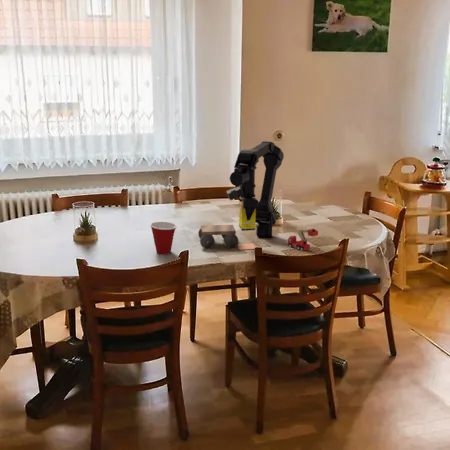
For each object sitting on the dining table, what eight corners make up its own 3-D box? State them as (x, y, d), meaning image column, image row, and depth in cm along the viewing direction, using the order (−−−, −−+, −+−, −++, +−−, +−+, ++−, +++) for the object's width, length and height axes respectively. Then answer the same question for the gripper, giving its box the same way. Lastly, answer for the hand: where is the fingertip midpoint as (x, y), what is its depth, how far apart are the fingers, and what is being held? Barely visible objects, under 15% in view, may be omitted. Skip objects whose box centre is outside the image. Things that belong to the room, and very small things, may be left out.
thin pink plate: (253, 244, 234) (253, 243, 234) (255, 249, 227) (255, 248, 227) (237, 244, 233) (237, 244, 233) (239, 249, 226) (239, 249, 226)
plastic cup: (179, 255, 219) (179, 226, 216) (153, 257, 216) (152, 228, 213) (174, 247, 229) (174, 219, 226) (149, 249, 226) (148, 221, 223)
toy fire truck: (291, 244, 234) (292, 222, 231) (317, 252, 225) (318, 229, 222) (286, 246, 232) (287, 224, 229) (312, 253, 222) (313, 231, 220)
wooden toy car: (234, 238, 241) (234, 223, 239) (238, 247, 229) (238, 232, 227) (198, 239, 239) (198, 224, 237) (200, 249, 227) (200, 233, 225)
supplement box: (238, 226, 230) (239, 201, 227) (252, 226, 231) (253, 201, 228) (241, 231, 225) (241, 205, 221) (255, 230, 225) (256, 204, 222)
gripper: (225, 177, 230) (225, 212, 235) (230, 186, 212) (230, 225, 217) (251, 176, 231) (250, 212, 236) (259, 186, 214) (258, 224, 218)
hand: (247, 218), depth 227 cm, fingers closed on supplement box, 6 cm apart
